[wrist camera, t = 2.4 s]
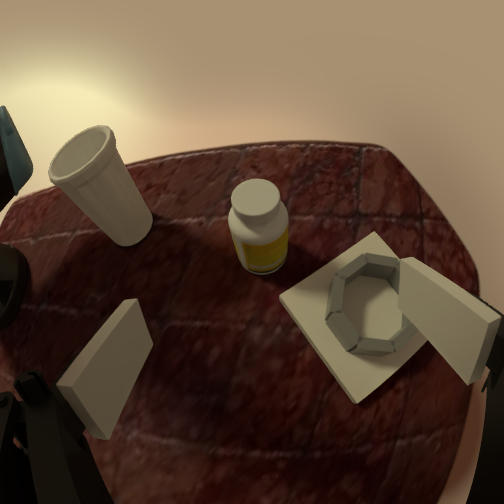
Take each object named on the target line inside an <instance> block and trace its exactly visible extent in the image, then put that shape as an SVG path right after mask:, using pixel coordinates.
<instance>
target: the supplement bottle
mask: <svg viewBox="0 0 504 504" xmlns="http://www.w3.org/2000/svg"><path fill="white" fill-rule="evenodd" d="M231 202H232V208H231V210H230V212H229V217H228V222H229V227H230V231H231V234H232V237H233V241H234V244H235V248H236V251H237V255H238V258H239V261H240V263H241V264H242V266H243V267H244V268H245V269H246V270H248V271H249V272H251V273H254V274H259V275H265V274H270V273H273V272H275V271H276V270H278V269H279V268H280V267H281V266H282V265H283V264H284V262H285V260H286V257H287V250H288V213H287V210H286V207H285V206H284V204H283V203H282V202H281V201H280V193H279V190H278V189H277V187H276V186H275V185H274V184H273V183H271V182H269V181H267V180H263V179H251V180H247V181H245V182H243V183H241V184H240V185H238V186H237V187H236V188H235V189H234V191H233V193H232V197H231Z"/></svg>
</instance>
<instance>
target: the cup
mask: <svg viewBox="0 0 504 504" xmlns="http://www.w3.org/2000/svg"><path fill="white" fill-rule="evenodd" d="M48 174H49V178H50V181H51V182H52V183H53V184H54V185H56V186H57V187H58V188H61V189H62V190H63V191H64V192H65V193H66V194H67V196H68V197H69V198H70V199H71V200H72V201H73V202H74V203H75V204H76V205H77V206H78V207H79V208H80V209H81V210H82V211H83V212H84V213H85V214H86V215H87V216H88V217H89V218H90V219H91V220H92V221H93V222H94V223H95V224H96V225H97V226H98V227H99V228H100V229H101V230H102V231H104V232H105V233H106V234H107V235H108V236H109V237H110V238H111V239H112V240H113V241H114V242H115V243H117V244H119V245H121V246H131V245H133V244H136V243H138V242H139V241H141V240H142V239H143V238H144V237H145V236H146V235H147V233H148V232H149V230H150V229H151V225H152V222H153V219H152V213H151V212H150V211H149V209H148V207H147V206H146V204H145V202H144V200H143V198H142V197H141V195H140V193H139V191H138V189H137V187H136V186H135V184H134V182H133V180H132V178H131V176H130V174H129V172H128V170H127V168H126V167H125V165H124V163H123V161H122V159H121V157H120V155H119V153H118V151H117V149H116V139H115V136H114V133H113V131H112V130H111V129H110V128H109V127H108V126H102V125H97V126H94V127H91V128H87V129H86V130H84V131H82V132H80V133H78V134H77V135H75V136H74V137H73V138H71V139H70V140H69V141H68V142H66V143H65V145H63V147H62V148H61V149H60V150H59V151H58V152H57V153H56V155H55V157H54V158H53V160H52V161H51V163H50V167H49V171H48Z"/></svg>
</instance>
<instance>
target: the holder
mask: <svg viewBox="0 0 504 504" xmlns="http://www.w3.org/2000/svg"><path fill="white" fill-rule="evenodd" d="M399 282H400V260H399V258H398V257H397V256H396V255H395V254H394V253H393V251H392V250H391V249H390V248H389V247H388V246H387V245H386V243H385V242H384V241H383V240H382V239H381V238H380V237H379V236H378V235H377V234H376V232H375V231H374V232H372V233H371V234H369V235H368V236H367V237H365V238H364V239H362V240H361V241H360V242H358V243H357V244H355V245H354V246H352V247H351V248H350V249H348V250H347V251H345V252H344V253H342V254H341V255H340V256H338V257H337V258H335V259H334V260H332V261H331V262H329V263H328V264H326V265H325V266H323V267H322V268H320V269H319V270H317V271H316V272H314V273H313V274H311V275H310V276H308V277H307V278H305V279H304V280H302V281H301V282H299V283H298V284H296V285H295V286H293V287H292V288H290V289H289V290H287V291H285V292H284V293H282V294H281V295H280V301H281V303H282V304H283V306H284V307H285V308H286V310H287V311H288V313H289V314H290V316H291V317H292V318H293V320H294V321H295V323H296V324H297V325H298V327H299V328H300V330H301V331H302V332H303V334H304V335H305V337H306V338H307V339H308V341H309V342H310V344H311V345H312V346H313V348H314V349H315V351H316V352H317V353H318V355H319V356H320V358H321V359H322V360H323V362H324V363H325V365H326V366H327V367H328V369H329V370H330V372H331V373H332V374H333V376H334V377H335V378H336V380H337V381H338V383H339V384H340V385H341V387H342V388H343V390H344V391H345V392H346V394H347V395H348V397H349V398H350V399H351V401H352V402H353V403H359V402H360V401H361V400H362V399H364V398H365V397H366V396H367V395H369V394H370V393H371V392H372V391H374V390H375V389H376V388H377V387H378V386H380V385H381V384H382V383H383V382H384V381H385V380H387V379H388V378H389V377H390V376H391V375H392V374H393V373H394V372H396V371H397V370H398V369H399V368H400V367H401V366H402V365H403V364H404V363H405V362H406V361H407V360H408V359H409V358H410V357H411V356H412V355H413V354H414V353H416V352H417V351H418V349H419V348H420V347H421V346H422V345H423V344H424V343H425V342H426V341H427V338H426V337H425V336H424V335H423V334H422V333H421V332H420V331H419V330H418V329H417V328H416V327H415V325H414V324H413V323H412V322H411V321H410V320H409V319H408V318H407V317H406V316H405V315H404V314H403V313H402V312H401V311H400V310H399V309H398V297H399Z"/></svg>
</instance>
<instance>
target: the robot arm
mask: <svg viewBox="0 0 504 504" xmlns="http://www.w3.org/2000/svg"><path fill="white" fill-rule="evenodd" d="M32 173H33V164H32V161H31V159H30V156H29V154H28V152H27V150H26V148H25V146H24V144H23V141H22V139H21V137H20V135H19V133H18V131H17V129H16V127H15V125H14V123H13V121H12V118H11V117H10V115H9V113H8V111H7V109H6V107H5V106H1V107H0V212H1V211H2V210H3V209H4V207H5V206H6V205H7V204H8V203H9V201H10V200H11V199H12V198H13V197H14V196H17V195H18V192H19V190H20V189H21V188H22V187H23V186H24V185H25V183H26V182H27V181H28V180H29V179H30V177H31V176H32ZM26 280H27V263H26V259H25V256H24V255H23V253H22V252H20V251H19V250H18V249H17V248H15V247H14V246H12V245H9V244H3V243H0V330H2V329H4V328H5V327H6V326H8V324H9V323H10V322H11V321H12V319H13V318H14V316H15V314H16V312H17V310H18V308H19V306H20V303H21V301H22V298H23V294H24V291H25V286H26ZM398 309H399V310H400V311H401V312H402V313H403V314H404V315H405V316H406V317H407V318H408V319H409V320H410V321H411V322H412V323H413V324H414V325H415V327H416V328H417V329H418V330H419V331H420V332H421V333H422V334H423V335H424V336H425V337H426V338H427V340H428V341H429V342H430V343H431V344H432V345H433V346H434V347H435V348H436V349H437V351H438V352H439V353H440V354H441V355H442V356H443V357H444V358H445V360H446V361H447V362H448V363H449V364H450V365H451V366H452V368H453V369H454V370H455V371H456V372H457V373H458V375H459V376H460V377H461V378H462V379H463V381H464V382H465V383H466V384H467V385H469V384H471V383H473V382H474V381H476V380H478V379H480V378H481V376H482V374H483V371H484V369H485V366H487V367H488V368H489V369H490V372H489V374H488V377H487V379H486V381H485V383H484V386H483V388H482V391H481V392H484V390H485V388H486V387H487V398H486V410H485V420H484V428H483V435H482V441H481V447H480V452H479V457H478V462H477V467H476V471H475V474H474V478H473V482H472V486H471V490H470V493H469V496H468V499H467V502H466V504H504V315H503V314H502V313H500V312H499V311H498V310H496V309H495V308H493V307H492V306H491V305H488V303H486V302H485V301H483V300H482V299H481V298H479V297H478V296H476V295H475V294H472V293H469V292H467V291H465V290H464V289H462V288H461V287H459V286H458V285H456V284H455V283H453V282H452V281H450V280H449V279H447V278H445V277H444V276H442V275H441V274H439V273H438V272H436V271H435V270H433V269H431V268H430V267H428V266H427V265H425V264H423V263H422V262H420V261H418V260H417V259H415V258H414V257H409V258H404V259H400V282H399V297H398ZM152 346H153V342H152V339H151V337H150V334H149V331H148V328H147V326H146V323H145V320H144V317H143V314H142V311H141V308H140V305H139V302H138V299H128V300H124V301H123V302H122V303H121V304H120V306H119V307H118V308H117V309H116V310H115V311H114V313H113V314H112V315H111V316H110V317H109V318H108V320H107V321H106V322H105V323H104V324H103V326H102V327H101V328H100V329H99V330H98V332H97V333H96V334H95V335H94V336H93V338H92V339H91V340H90V341H89V343H88V344H87V345H86V346H85V348H84V349H83V350H82V351H80V352H79V353H78V354H76V355H75V356H74V357H73V359H72V360H71V361H70V362H69V364H68V365H67V366H66V367H65V370H63V371H62V373H61V374H60V375H59V376H58V378H57V379H56V380H55V382H54V383H53V384H52V386H51V387H50V388H49V386H48V384H47V383H46V381H45V380H44V378H43V376H42V374H41V373H40V372H39V371H38V370H30V371H27V372H25V373H23V374H21V375H20V376H19V377H18V378H17V379H16V380H15V382H14V385H13V386H14V387H15V389H16V390H17V392H18V393H19V395H20V396H21V398H22V399H23V401H17V399H16V398H15V396H14V395H13V393H11V392H3V393H0V504H114V502H113V500H112V498H111V496H110V494H109V492H108V490H107V488H106V486H105V484H104V481H103V479H102V477H101V475H100V472H99V470H98V468H97V465H96V463H95V460H94V458H93V455H92V453H91V450H90V447H89V445H88V442H87V439H86V438H85V436H84V435H83V434H82V433H83V431H84V429H85V428H86V429H87V430H88V431H89V433H90V434H91V435H92V436H93V437H94V438H99V439H105V440H109V439H110V437H111V434H112V432H113V430H114V427H115V425H116V423H117V421H118V418H119V416H120V414H121V412H122V409H123V407H124V405H125V403H126V401H127V399H128V396H129V394H130V392H131V390H132V388H133V386H134V383H135V381H136V379H137V377H138V375H139V373H140V371H141V369H142V367H143V365H144V363H145V361H146V359H147V356H148V354H149V352H150V350H151V348H152ZM14 437H15V438H16V440H17V441H18V442H19V443H20V448H18V447H17V446H16V445H15V444H14V443H13V438H14Z"/></svg>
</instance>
